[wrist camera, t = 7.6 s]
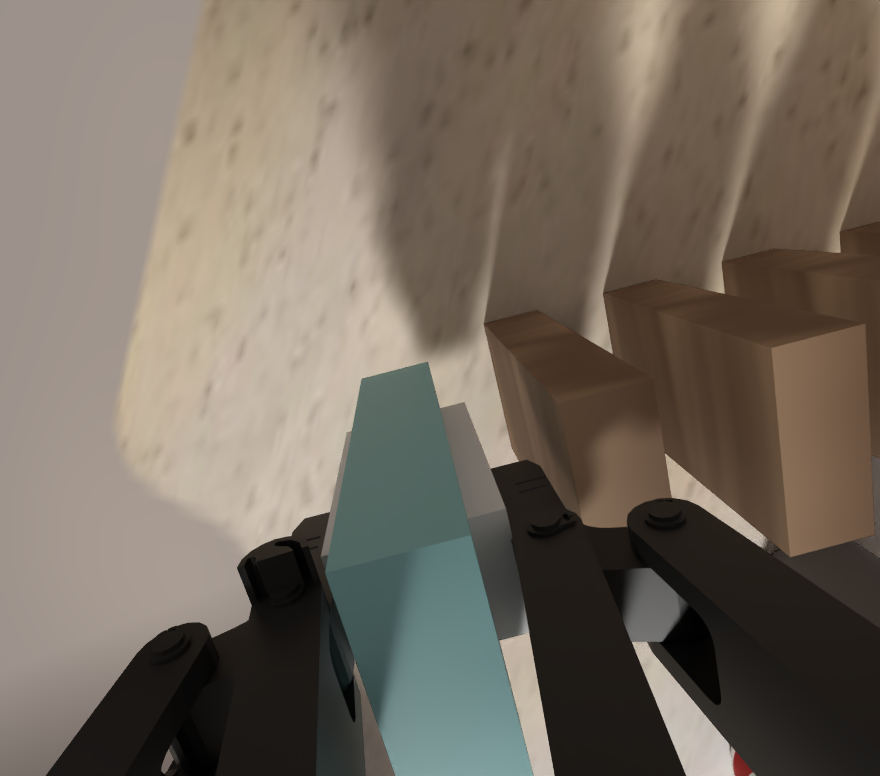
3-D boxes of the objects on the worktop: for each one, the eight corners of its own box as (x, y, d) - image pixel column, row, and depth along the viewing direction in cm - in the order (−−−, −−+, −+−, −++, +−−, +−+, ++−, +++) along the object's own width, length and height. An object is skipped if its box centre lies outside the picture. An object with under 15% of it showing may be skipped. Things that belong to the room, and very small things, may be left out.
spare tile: (404, 526, 19) (418, 842, 9) (361, 378, 18) (325, 573, 8) (466, 510, 19) (542, 809, 9) (428, 361, 18) (470, 534, 8)
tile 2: (511, 448, 23) (599, 608, 14) (483, 323, 22) (558, 403, 12) (561, 435, 23) (684, 585, 14) (536, 310, 22) (653, 378, 12)
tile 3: (623, 418, 23) (790, 557, 14) (603, 293, 22) (771, 347, 12) (673, 406, 23) (874, 534, 14) (655, 279, 22) (865, 323, 12)
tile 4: (735, 389, 23) (980, 506, 14) (721, 262, 22) (982, 292, 12) (785, 376, 23) (1064, 483, 14) (774, 248, 22) (1076, 268, 12)
